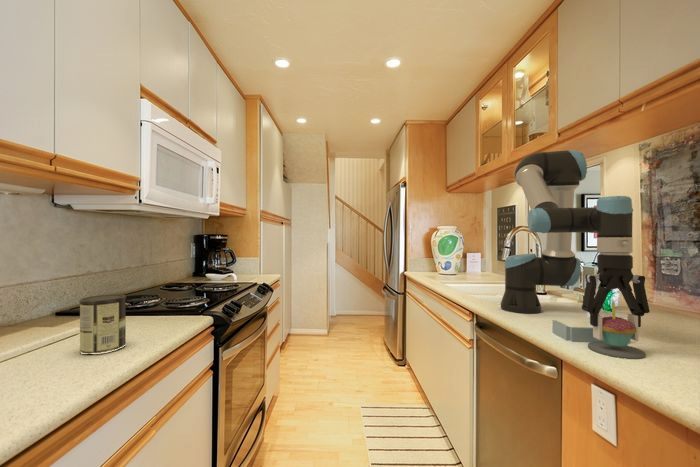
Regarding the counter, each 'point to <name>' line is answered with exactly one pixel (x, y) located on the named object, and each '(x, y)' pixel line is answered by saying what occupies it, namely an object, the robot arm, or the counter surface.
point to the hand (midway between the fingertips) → (615, 338)
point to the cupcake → (617, 329)
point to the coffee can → (102, 323)
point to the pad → (616, 350)
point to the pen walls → (575, 333)
